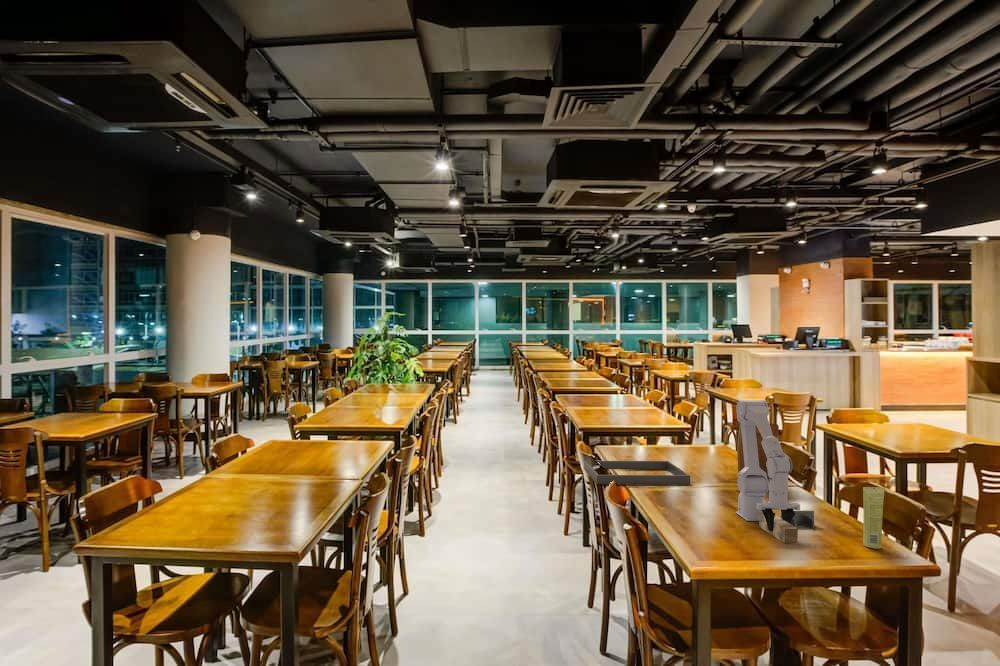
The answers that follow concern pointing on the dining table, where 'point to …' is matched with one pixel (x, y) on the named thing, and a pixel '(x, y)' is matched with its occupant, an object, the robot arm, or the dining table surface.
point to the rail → (780, 529)
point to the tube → (873, 516)
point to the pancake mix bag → (761, 452)
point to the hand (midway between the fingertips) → (777, 530)
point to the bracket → (803, 518)
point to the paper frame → (677, 478)
